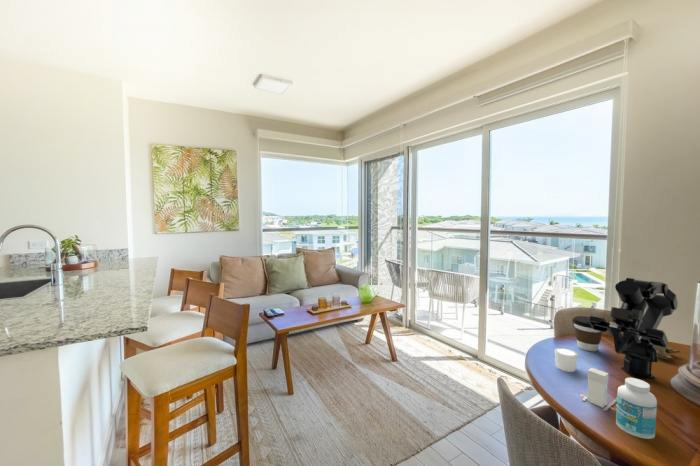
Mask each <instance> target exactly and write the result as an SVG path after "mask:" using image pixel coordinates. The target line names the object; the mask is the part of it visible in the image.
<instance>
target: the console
mask: <svg viewBox="0 0 700 466" xmlns="http://www.w3.org/2000/svg"><path fill="white" fill-rule="evenodd" d="M579 396H581V397H583V398H582V399H581V401H582V402H586V401H587V395H584V394H582V393H581V394H579ZM613 406H617V397H615V398H614V399H613V400H612V401H611V402H610V403H608V404H607V405H606V406H605V407H604V408H602V410H603V411H604V412H607V411H608V410H609V409H611V410H613V411H616V410H617V408H615V407H613Z"/></svg>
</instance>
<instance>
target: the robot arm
mask: <svg viewBox="0 0 700 466" xmlns="http://www.w3.org/2000/svg"><path fill="white" fill-rule="evenodd" d="M614 286H615V290H616V293H617V295H618V297H619V299H620V301H621V302H622V303H621V306H620V307H615V306H611V309H610V315H609V317H610V318H612V319H611V320H612V321H611V322H608V321H607V320H606V319H605V317H603V316H598V315H590V316H588V317H589V319H588V322H589V324H590V325H591V327H592V329H594V330H597V331H601V332H602V333H606V332H609V334H610V336H611V337H613V344H614V353H615V354H618V355H620V354H621V355H624V358H623V366H621V367H620V369H621V370H622V371H624V372H626V373H628V374H629V375H631V377H632V378H636V379H640V378H641V379H656V376H654V375H653V374H652V367H653V366H652V365H653V363H658V361H659V357H658V353H657V351H656V348H655V346H654V345H656V346H660V347H664V348H665V347H668V343H669V340H668V338H667V335H666V332H664V331H663V330H662V329H658V327H659V326H660V324H661V322H662V320H663V318H664V317H666V316H672V315H673V313H674V311H677V309H678V300H677V294H675V293H674V292H673V291H672V290H671V289H669V285H668V284H667V283H665V282H661V281H660V282H659V281H650V280H649V281H647V280H643V279H641V280H640V279H635V278H631V277H626V279H625V280H620V281H619V282H617V283H616V284H615V285H614ZM622 334H623V335H622Z"/></svg>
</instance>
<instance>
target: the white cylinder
mask: <svg viewBox="0 0 700 466" xmlns="http://www.w3.org/2000/svg"><path fill="white" fill-rule="evenodd" d="M554 356H555V357H554V359H555V366H556V368H557V369H558V370H561V371H564V372H568V373H573V372H575V371H576V370H577V363H578V358H579V354H578V352H576V351H575V350H572V349H570V348H564V347H556V348H555V349H554Z"/></svg>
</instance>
